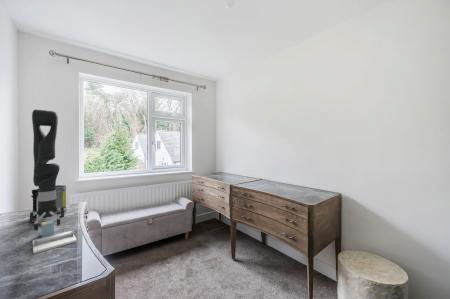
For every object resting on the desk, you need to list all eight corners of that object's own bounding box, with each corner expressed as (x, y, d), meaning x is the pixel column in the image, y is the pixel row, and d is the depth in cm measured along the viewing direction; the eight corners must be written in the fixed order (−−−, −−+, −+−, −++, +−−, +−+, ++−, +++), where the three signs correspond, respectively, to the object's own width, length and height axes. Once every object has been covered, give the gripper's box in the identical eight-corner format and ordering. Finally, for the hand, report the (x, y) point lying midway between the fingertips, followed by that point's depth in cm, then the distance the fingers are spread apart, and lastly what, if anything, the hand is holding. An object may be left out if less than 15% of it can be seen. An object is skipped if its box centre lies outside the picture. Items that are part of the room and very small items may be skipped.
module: (41, 234, 108) (40, 222, 108) (52, 231, 112) (52, 220, 112) (41, 238, 104) (41, 225, 104) (54, 235, 107) (54, 223, 107)
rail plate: (32, 242, 99) (32, 237, 99) (71, 232, 111) (71, 228, 111) (33, 253, 88) (33, 248, 88) (76, 241, 100) (76, 236, 100)
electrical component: (42, 219, 132) (42, 190, 132) (30, 218, 134) (30, 189, 134) (67, 211, 149) (67, 185, 149) (57, 210, 151) (57, 185, 151)
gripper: (62, 195, 115) (63, 222, 115) (29, 200, 105) (29, 230, 105) (64, 197, 110) (64, 226, 110) (29, 202, 100) (29, 234, 100)
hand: (47, 228), depth 107 cm, fingers open, 8 cm apart
